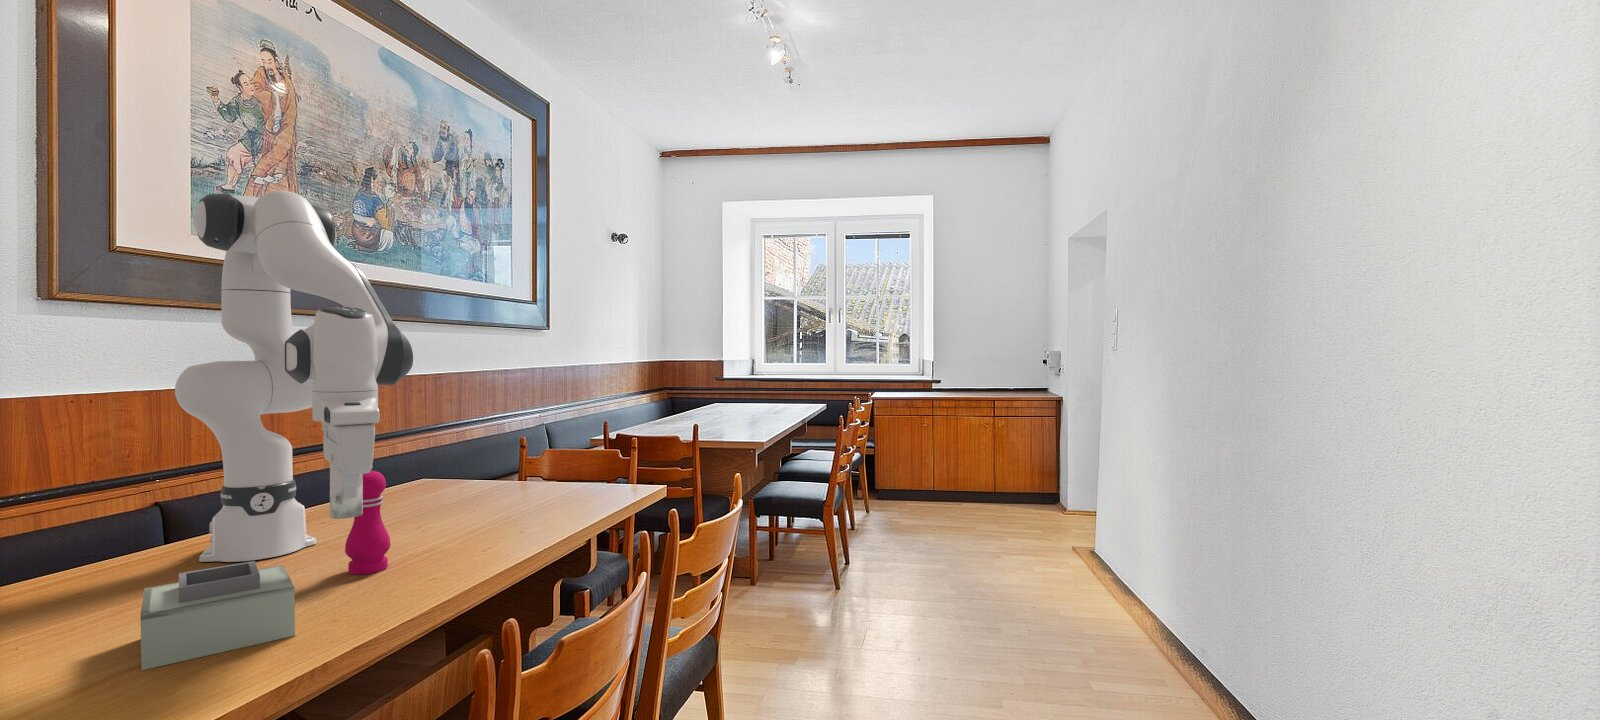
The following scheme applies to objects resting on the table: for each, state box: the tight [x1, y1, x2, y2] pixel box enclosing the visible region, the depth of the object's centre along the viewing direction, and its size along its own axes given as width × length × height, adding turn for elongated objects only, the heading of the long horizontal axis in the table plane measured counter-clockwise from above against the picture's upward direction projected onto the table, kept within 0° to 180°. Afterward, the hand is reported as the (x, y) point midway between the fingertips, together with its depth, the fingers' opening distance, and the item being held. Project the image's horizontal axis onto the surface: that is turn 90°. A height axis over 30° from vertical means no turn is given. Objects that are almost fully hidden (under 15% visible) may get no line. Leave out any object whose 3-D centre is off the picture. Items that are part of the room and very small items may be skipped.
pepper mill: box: [344, 466, 391, 576], centre depth 130 cm, size 7×7×20 cm
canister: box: [329, 454, 363, 520], centre depth 112 cm, size 4×4×12 cm
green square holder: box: [139, 560, 296, 671], centre depth 100 cm, size 14×16×9 cm
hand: (346, 494), depth 112 cm, fingers closed on canister, 4 cm apart
